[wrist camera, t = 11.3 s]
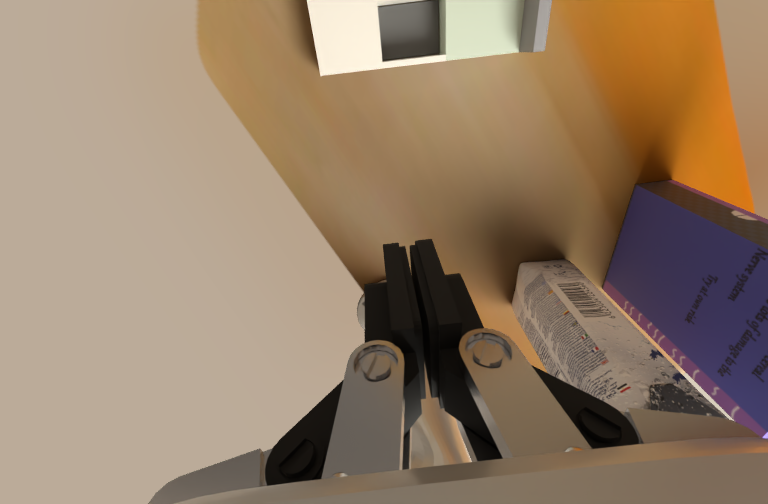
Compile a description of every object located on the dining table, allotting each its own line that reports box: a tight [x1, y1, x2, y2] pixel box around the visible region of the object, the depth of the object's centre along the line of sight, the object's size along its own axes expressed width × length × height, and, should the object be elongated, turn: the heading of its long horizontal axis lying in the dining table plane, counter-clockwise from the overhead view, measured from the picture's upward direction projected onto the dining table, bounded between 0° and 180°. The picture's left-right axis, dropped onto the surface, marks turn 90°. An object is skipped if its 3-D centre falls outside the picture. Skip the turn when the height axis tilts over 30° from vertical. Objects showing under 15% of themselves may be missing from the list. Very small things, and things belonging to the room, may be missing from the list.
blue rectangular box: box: [602, 180, 768, 438], centre depth 36 cm, size 17×5×24 cm, turn 7°
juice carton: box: [512, 259, 728, 419], centre depth 38 cm, size 9×10×27 cm
